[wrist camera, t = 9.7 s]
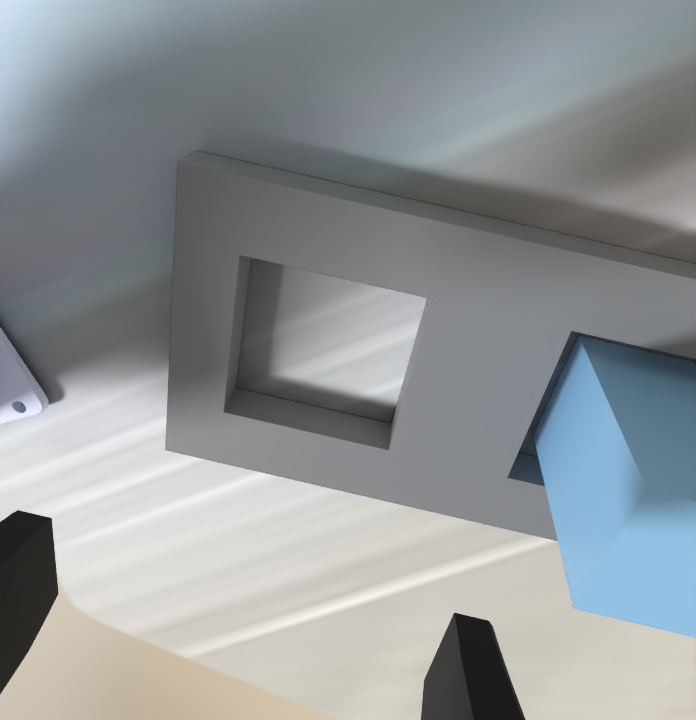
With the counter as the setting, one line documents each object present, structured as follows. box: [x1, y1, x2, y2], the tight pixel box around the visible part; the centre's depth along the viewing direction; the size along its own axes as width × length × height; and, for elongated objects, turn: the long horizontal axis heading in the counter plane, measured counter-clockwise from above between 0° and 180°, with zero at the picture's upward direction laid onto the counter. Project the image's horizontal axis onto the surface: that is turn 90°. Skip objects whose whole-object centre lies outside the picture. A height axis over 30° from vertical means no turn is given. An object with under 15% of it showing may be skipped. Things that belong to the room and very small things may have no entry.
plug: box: [533, 336, 696, 638], centre depth 17 cm, size 4×4×7 cm
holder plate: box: [165, 151, 696, 541], centre depth 19 cm, size 10×19×2 cm, turn 79°
